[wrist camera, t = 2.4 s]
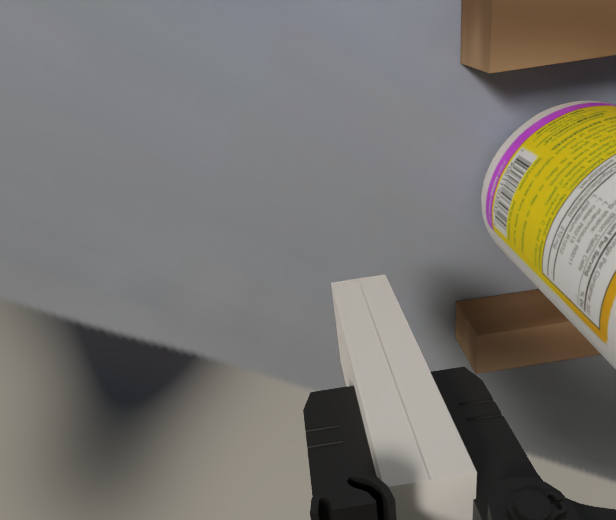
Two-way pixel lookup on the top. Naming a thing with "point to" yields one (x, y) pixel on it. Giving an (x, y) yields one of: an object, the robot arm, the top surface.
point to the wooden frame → (511, 56)
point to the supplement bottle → (562, 212)
